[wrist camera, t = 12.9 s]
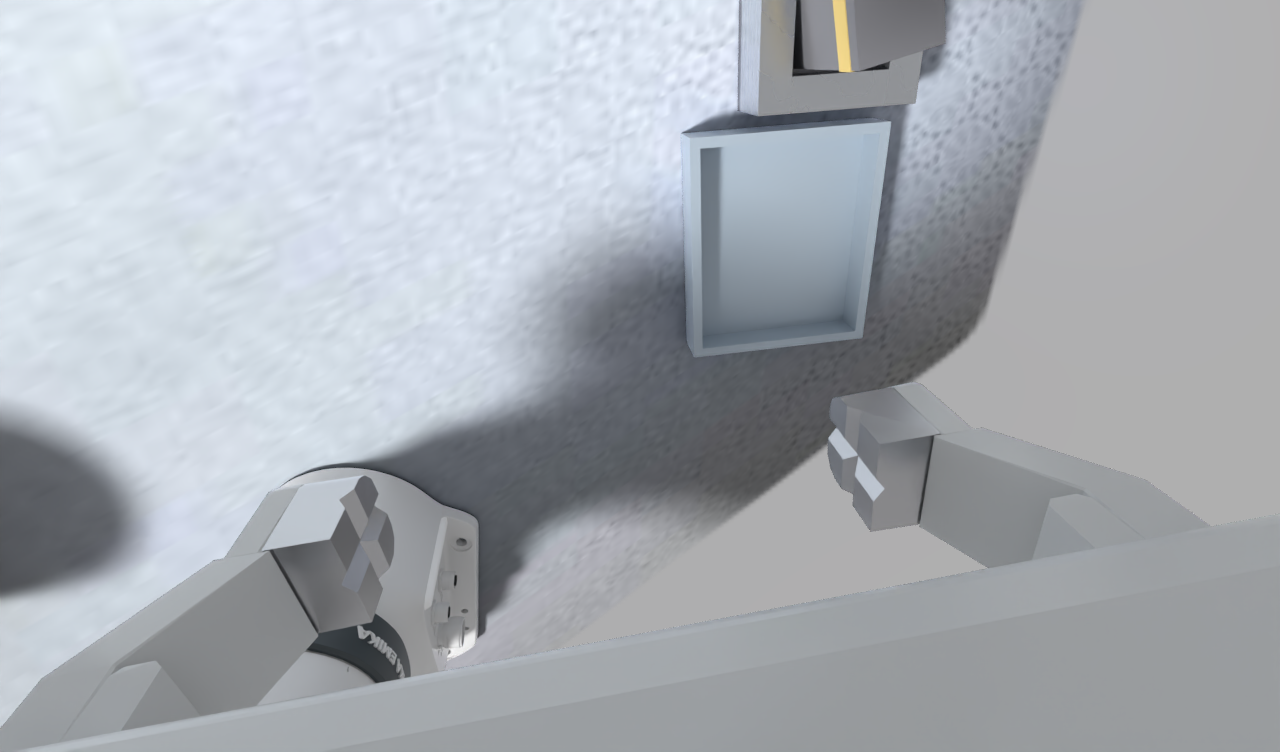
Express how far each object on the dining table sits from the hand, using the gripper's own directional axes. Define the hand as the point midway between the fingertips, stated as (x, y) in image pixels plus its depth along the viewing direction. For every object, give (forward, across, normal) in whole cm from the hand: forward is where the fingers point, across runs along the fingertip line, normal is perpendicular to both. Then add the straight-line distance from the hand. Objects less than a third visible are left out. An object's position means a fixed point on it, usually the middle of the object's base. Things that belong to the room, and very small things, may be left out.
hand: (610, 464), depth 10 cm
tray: (+29, -13, +6) cm, 32 cm away
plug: (+29, -15, -7) cm, 33 cm away
